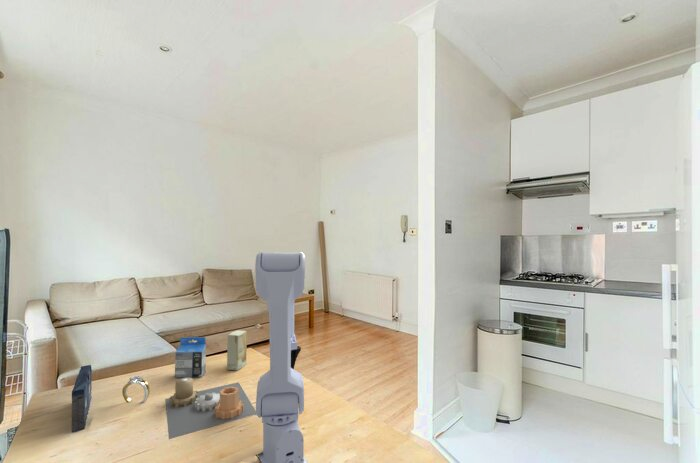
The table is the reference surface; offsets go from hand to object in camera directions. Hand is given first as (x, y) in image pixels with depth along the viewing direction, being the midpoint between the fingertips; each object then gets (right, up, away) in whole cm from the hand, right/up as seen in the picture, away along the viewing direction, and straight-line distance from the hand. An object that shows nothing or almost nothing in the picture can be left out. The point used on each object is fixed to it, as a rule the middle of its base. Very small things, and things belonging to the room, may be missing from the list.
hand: (283, 368), depth 91 cm
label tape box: (-35, -11, +19) cm, 42 cm away
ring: (-41, -11, 0) cm, 42 cm away
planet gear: (-13, -9, -5) cm, 17 cm away
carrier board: (-20, -10, -2) cm, 23 cm away
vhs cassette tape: (-52, -11, -5) cm, 54 cm away
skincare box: (-22, -11, +26) cm, 36 cm away
